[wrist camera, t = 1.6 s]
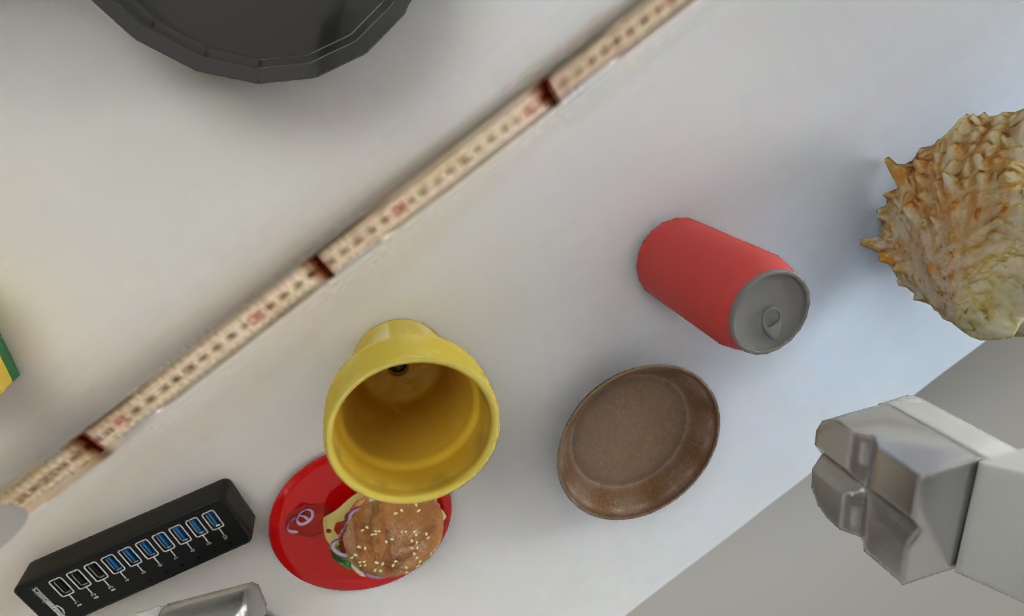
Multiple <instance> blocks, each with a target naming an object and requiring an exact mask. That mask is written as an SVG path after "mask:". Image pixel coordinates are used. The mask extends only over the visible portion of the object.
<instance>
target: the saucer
mask: <svg viewBox="0 0 1024 616" xmlns="http://www.w3.org/2000/svg"><path fill="white" fill-rule="evenodd" d="M719 431H720V413H719V408H718V404H717V401H716V398H715V396H714V394H713V392H712V391H711V389H710V388H709V387H708V385H707V384H706V383H705V382H704V381H703V380H702V379H701V378H700V377H698V376H697V375H696V374H694V373H692V372H691V371H688V370H686V369H684V368H681V367H677V366H672V365H647V366H641V367H636V368H633V369H630V370H626V371H624V372H621V373H619V374H617V375H615V376H613V377H611V378H609V379H607V380H606V381H604V382H603V383H601V384H600V385H598V386H597V387H596V388H595V389H593V390H592V391H591V392H590V393H589V394H588V395H587V396H586V397H585V398H584V399H583V400H582V401H581V403H580V404H579V405H578V406H577V408H576V409H575V411H574V412H573V414H572V415H571V417H570V419H569V421H568V423H567V425H566V427H565V429H564V432H563V435H562V438H561V441H560V445H559V450H558V458H557V469H558V476H559V480H560V483H561V486H562V488H563V490H564V492H565V493H566V495H567V496H568V498H569V499H570V500H571V501H572V502H573V503H574V504H575V505H576V506H577V507H578V508H579V509H581V510H582V511H584V512H586V513H588V514H590V515H592V516H595V517H599V518H603V519H608V520H625V519H633V518H637V517H641V516H645V515H648V514H650V513H653V512H655V511H657V510H659V509H661V508H663V507H665V506H666V505H668V504H670V503H671V502H673V501H674V500H676V499H677V498H679V497H680V496H681V495H682V494H683V493H685V492H686V491H687V490H688V489H689V488H690V487H691V486H692V485H693V484H694V482H695V481H696V480H697V479H698V478H699V477H700V475H701V474H702V473H703V471H704V470H705V468H706V466H707V465H708V463H709V461H710V459H711V457H712V455H713V453H714V450H715V447H716V445H717V442H718V437H719Z"/></svg>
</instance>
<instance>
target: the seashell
mask: <svg viewBox="0 0 1024 616" xmlns="http://www.w3.org/2000/svg"><path fill="white" fill-rule="evenodd" d="M885 163H886V165H887V167H888V169H889V171H890V173H891V175H892V177H893V179H894V180H895V182H896V184H897V186H898V188H897V189H895V190H893V191H890V192H885V193H884V194H883V196H884V197H885V198H887V204H886V205H884V206H882V207H880V208H878V209H877V211H876V212H877V213H878V214H879V215H878V219H880V220H881V221H882V231H881V234H880V235H878V236H877V237H870V238H864V239H861V245H863V246H865V247H867V248H870V249H872V250H874V251H876V252H879V256H878V259H879V261H880V262H884V263H888V264H889V265H890V266H891V268H892V270H893V271H894V273H895V275H896V277H897V283H898V285H899V286H904V287H907V288H908V289H909V290H910V291H912V292H913V293H914V299H913V300H916V301H922V302H924V303H927V304H930V305H931V306H932V307H933V309H934V310H935V311H937V312H939V314H940V315H941V317H942V318H943V319H945V320H947V321H949V322H952V323H953V324H954V325H955V326H957V327H958V328H959V329H960V330H961V331H963V332H964V333H966V334H967V335H969V336H970V337H973V338H976V339H978V340H1000V339H1008V338H1012V337H1014V336H1016V337H1017V336H1018V337H1024V109H1021V110H1019V111H1017V112H1003V113H1001V114H999V115H996V116H990V117H989V116H988V115H987V114H986V113H985V112H984V113H983V114H981V115H979V116H976V115H974V114H971V115H968V114H966V115H965V116H964V117H962V118H960V119H959V120H958V121H957V123H956V124H955V125H954V126H953V127H952V128H951V129H950V131H949V132H948V133H947V134H946V135H945V136H944V137H942V138H941V139H938V140H937V142H936V143H935V144H934V145H932V146H929V147H923V148H920V149H919V150H918V152H917V154H916V156H915V157H914V159H913V160H912V161H911V162H909V163H907V164H905V165H902V164H896V163H895V162H894V161H893V160H892V159H891V158H889V157H887V158H886V159H885Z"/></svg>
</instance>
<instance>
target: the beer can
mask: <svg viewBox="0 0 1024 616" xmlns="http://www.w3.org/2000/svg"><path fill="white" fill-rule="evenodd" d="M636 267H637V272H638V278H639V281H640V282H641V284H642V286H643V288H644V289H645V290H646V291H647V292H648V293H650V294H651V295H652V296H654V297H655V298H656V299H658V300H659V301H661V302H662V303H663V304H665V305H666V306H668V307H669V308H670V309H672V310H673V311H675V312H676V313H677V314H679V315H680V316H682V317H683V318H684V319H686V320H687V321H689V322H690V323H691V324H693V325H694V326H696V327H697V328H698V329H700V330H701V331H703V332H704V333H705V334H707V335H708V336H710V337H711V338H712V339H714V340H715V341H717V342H718V343H719V344H721V345H724V346H727V347H731V348H734V349H738V350H743V351H745V352H748V353H751V354H755V355H759V354H768V353H771V352H773V351H776V350H778V349H780V348H782V347H783V346H784V345H786V344H787V343H788V342H790V341H791V340H792V339H793V338H794V337H795V335H796V334H797V333H798V332H799V331H800V329H801V327H802V326H803V324H804V322H805V320H806V318H807V314H808V310H809V306H810V294H809V289H808V287H807V285H806V282H805V280H804V279H803V278H801V277H800V276H799V275H798V274H797V273H795V272H794V270H793V269H792V268H791V267H790V266H789V265H788V264H787V263H786V262H785V261H783V260H782V259H781V258H780V257H779V256H778V255H775V254H773V253H771V252H768V251H766V250H764V249H761V248H759V247H757V246H754V245H752V244H750V243H747V242H745V241H743V240H740V239H738V238H736V237H733V236H731V235H729V234H726V233H724V232H722V231H719V230H717V229H715V228H712V227H710V226H708V225H705V224H703V223H701V222H698V221H695V220H693V219H690V218H674V219H672V220H669V221H666V222H663V223H662V224H660V225H659V226H658V227H656V228H655V229H653V230H652V231H651V232H650V234H649V235H648V236H647V237H646V239H645V240H644V241H643V243H642V246H641V248H640V250H639V253H638V258H637V266H636Z"/></svg>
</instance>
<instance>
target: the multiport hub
mask: <svg viewBox="0 0 1024 616" xmlns="http://www.w3.org/2000/svg"><path fill="white" fill-rule="evenodd" d="M254 522H255V515H254V514H253V512H252V511H251V509H250V508H249V506H248V505H247V504H246V502H245V501H244V499H243V498H242V496H241V495H240V493H239V492H238V491H237V489H236V488H235V486H234V485H233V483H232V482H231V481H230V480H229V479H222V480H219V481H217V482H215V483H212V484H210V485H208V486H205V487H203V488H201V489H199V490H196V491H194V492H192V493H189V494H187V495H185V496H182V497H180V498H178V499H176V500H173V501H171V502H169V503H166V504H164V505H162V506H159V507H157V508H155V509H153V510H150V511H148V512H146V513H143V514H141V515H139V516H136V517H134V518H132V519H130V520H127V521H125V522H123V523H120V524H118V525H116V526H113V527H111V528H109V529H107V530H104V531H102V532H100V533H97V534H95V535H93V536H90V537H88V538H86V539H84V540H81V541H79V542H77V543H74V544H72V545H70V546H67V547H65V548H63V549H61V550H58V551H56V552H54V553H51V554H49V555H47V556H44V557H42V558H40V559H38V560H35V561H33V562H31V563H30V564H29V566H28V567H27V569H26V571H25V572H24V574H23V576H22V577H21V579H20V581H19V582H18V584H17V586H16V588H15V589H14V592H15V594H16V595H17V596H18V597H19V598H20V599H21V600H22V601H23V602H24V603H26V604H27V605H28V606H29V607H30V608H31V609H32V610H33V611H34V612H35V613H36V614H37V615H38V616H86V615H88V614H90V613H93V612H95V611H97V610H99V609H102V608H104V607H106V606H108V605H110V604H113V603H115V602H117V601H119V600H122V599H124V598H126V597H128V596H130V595H133V594H135V593H137V592H139V591H142V590H144V589H146V588H148V587H150V586H153V585H155V584H157V583H159V582H162V581H164V580H166V579H168V578H170V577H173V576H175V575H177V574H179V573H182V572H184V571H186V570H188V569H190V568H193V567H195V566H197V565H199V564H202V563H204V562H206V561H208V560H210V559H213V558H215V557H217V556H219V555H222V554H224V553H226V552H228V551H230V550H233V549H235V548H237V547H239V546H242V545H244V544H246V543H248V542H250V541H251V539H252V534H253V528H254Z"/></svg>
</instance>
